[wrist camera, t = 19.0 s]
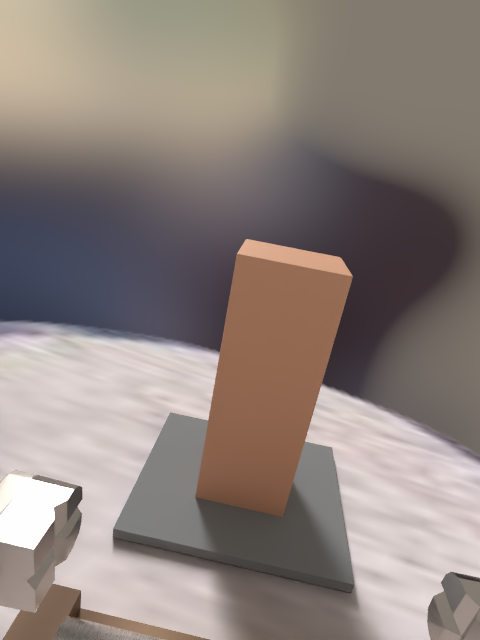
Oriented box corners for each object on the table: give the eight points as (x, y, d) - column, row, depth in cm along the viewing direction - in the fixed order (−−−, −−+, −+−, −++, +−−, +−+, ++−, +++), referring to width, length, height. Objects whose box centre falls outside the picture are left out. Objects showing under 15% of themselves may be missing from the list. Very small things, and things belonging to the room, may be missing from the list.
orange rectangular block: (195, 497, 22) (237, 253, 17) (208, 449, 25) (246, 239, 20) (282, 517, 22) (352, 276, 16) (283, 466, 25) (340, 257, 20)
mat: (112, 537, 19) (113, 528, 19) (169, 419, 29) (170, 412, 28) (350, 593, 19) (354, 584, 19) (329, 454, 28) (332, 447, 28)
